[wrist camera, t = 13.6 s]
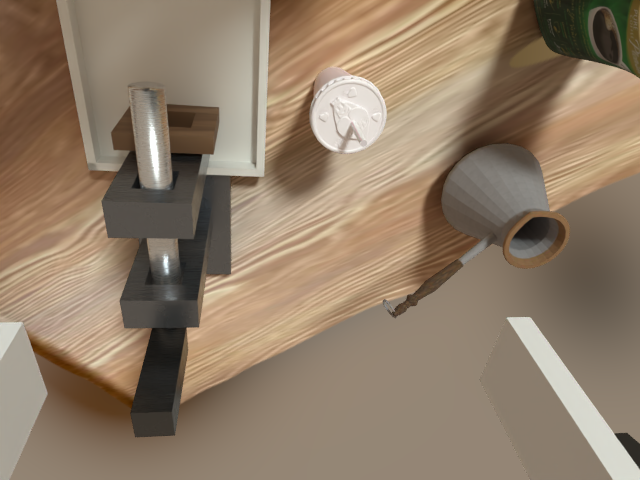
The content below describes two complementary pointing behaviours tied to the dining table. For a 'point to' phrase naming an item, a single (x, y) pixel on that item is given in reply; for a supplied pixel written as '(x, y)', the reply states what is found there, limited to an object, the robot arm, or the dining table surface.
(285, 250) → the dining table surface
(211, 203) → the shaft stand
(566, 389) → the robot arm
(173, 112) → the spacer
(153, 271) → the shaft
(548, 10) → the coffee jar
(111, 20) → the tray
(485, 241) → the coffee pot
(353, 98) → the smoothie
